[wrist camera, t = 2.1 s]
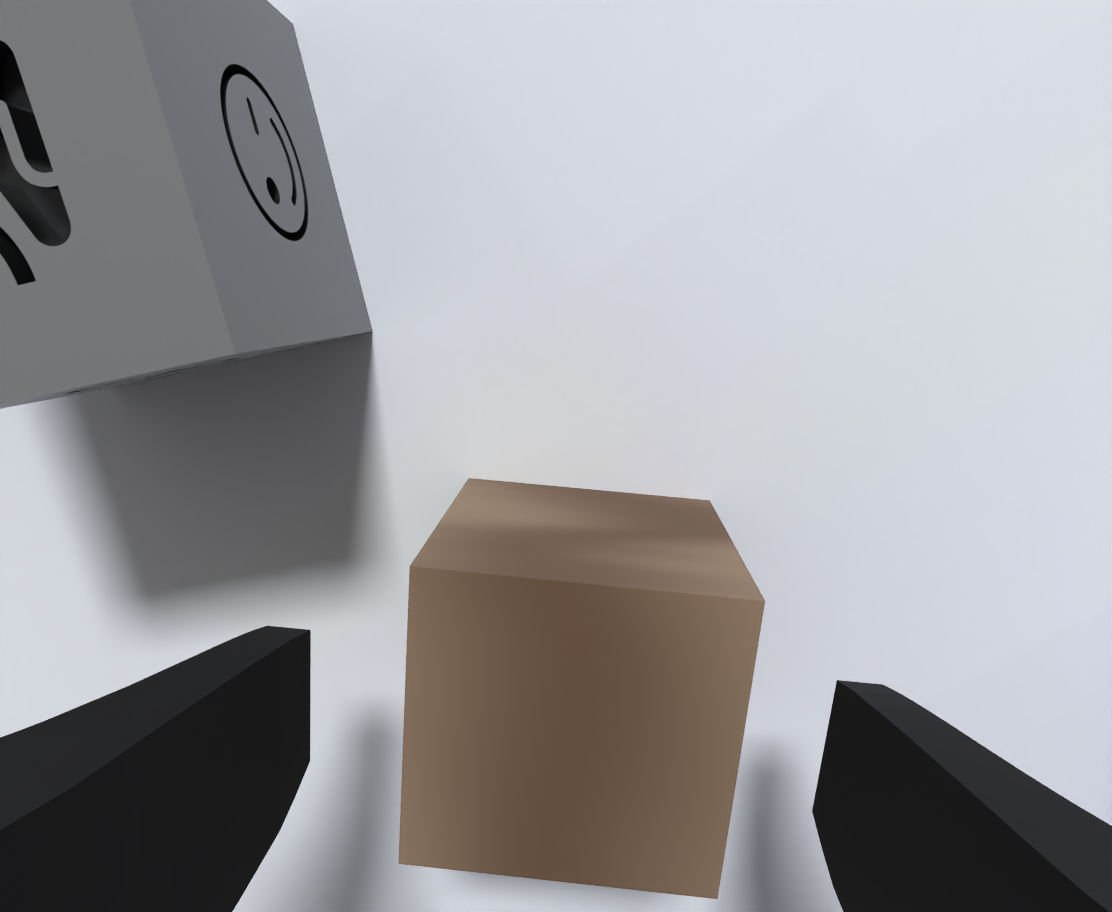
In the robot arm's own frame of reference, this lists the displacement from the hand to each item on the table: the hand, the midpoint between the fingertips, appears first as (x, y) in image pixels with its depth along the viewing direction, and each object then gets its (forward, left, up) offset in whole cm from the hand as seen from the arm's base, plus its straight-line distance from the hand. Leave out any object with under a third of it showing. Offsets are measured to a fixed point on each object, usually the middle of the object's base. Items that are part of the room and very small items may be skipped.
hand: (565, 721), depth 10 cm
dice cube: (+7, -6, -4) cm, 10 cm away
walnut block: (0, 0, -4) cm, 4 cm away
